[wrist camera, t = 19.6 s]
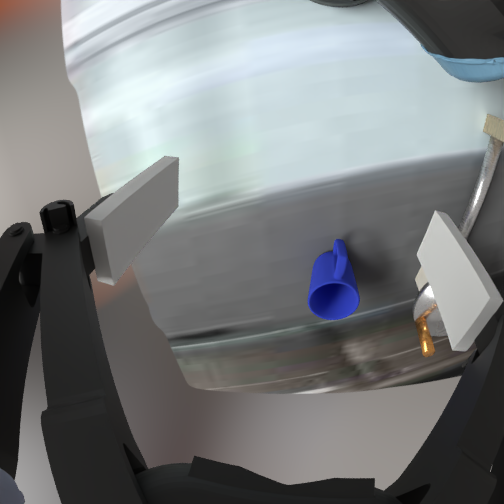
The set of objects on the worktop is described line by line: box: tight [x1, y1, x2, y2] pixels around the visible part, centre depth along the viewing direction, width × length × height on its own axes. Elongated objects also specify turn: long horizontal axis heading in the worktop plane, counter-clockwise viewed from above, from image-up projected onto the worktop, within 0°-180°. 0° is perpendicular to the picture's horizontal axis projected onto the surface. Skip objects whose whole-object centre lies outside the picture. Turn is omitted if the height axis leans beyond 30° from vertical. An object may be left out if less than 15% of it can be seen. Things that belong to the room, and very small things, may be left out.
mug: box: [308, 239, 360, 320], centre depth 48 cm, size 8×12×10 cm
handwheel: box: [413, 282, 447, 357], centre depth 39 cm, size 15×15×8 cm
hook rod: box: [458, 114, 504, 240], centre depth 35 cm, size 25×3×10 cm, turn 173°
